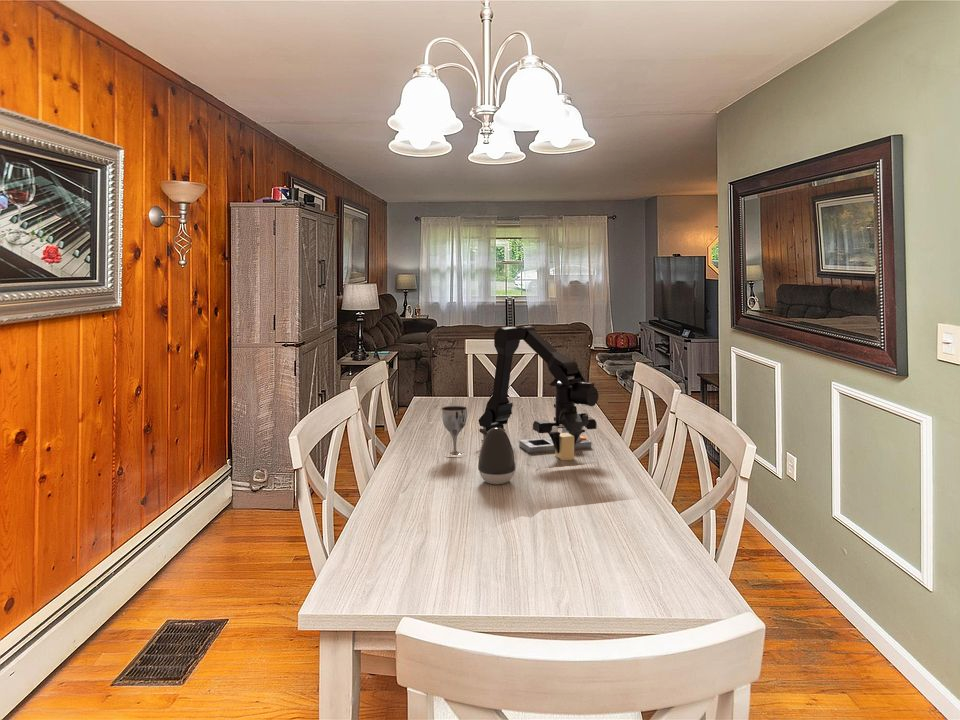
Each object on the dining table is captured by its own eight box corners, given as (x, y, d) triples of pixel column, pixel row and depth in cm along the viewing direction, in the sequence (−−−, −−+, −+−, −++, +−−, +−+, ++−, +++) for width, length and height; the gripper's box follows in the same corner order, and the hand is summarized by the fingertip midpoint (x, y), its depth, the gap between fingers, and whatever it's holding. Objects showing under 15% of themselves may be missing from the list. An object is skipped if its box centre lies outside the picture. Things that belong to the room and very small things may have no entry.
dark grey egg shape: (489, 473, 190) (488, 421, 188) (521, 479, 184) (521, 425, 182) (470, 483, 181) (470, 429, 179) (504, 489, 176) (504, 433, 174)
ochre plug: (561, 463, 199) (562, 437, 198) (555, 459, 204) (555, 433, 203) (574, 462, 200) (574, 436, 199) (567, 457, 205) (567, 432, 204)
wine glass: (455, 450, 216) (455, 404, 214) (472, 454, 210) (472, 407, 208) (437, 455, 210) (436, 408, 208) (454, 459, 204) (453, 411, 202)
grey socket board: (529, 456, 207) (529, 445, 206) (519, 449, 216) (519, 438, 215) (591, 451, 213) (591, 440, 212) (578, 443, 222) (578, 433, 221)
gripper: (546, 409, 190) (546, 462, 192) (605, 404, 195) (604, 456, 197) (532, 402, 200) (532, 452, 202) (588, 398, 206) (588, 447, 208)
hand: (564, 452), depth 202 cm, fingers closed on ochre plug, 4 cm apart
